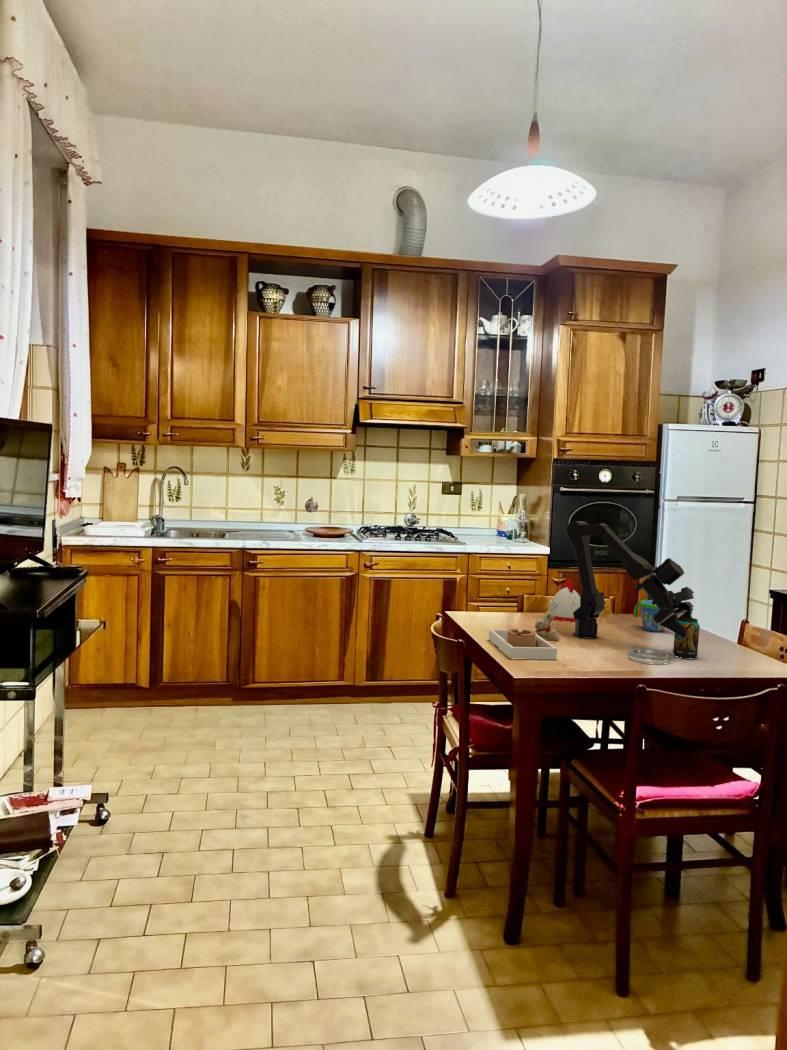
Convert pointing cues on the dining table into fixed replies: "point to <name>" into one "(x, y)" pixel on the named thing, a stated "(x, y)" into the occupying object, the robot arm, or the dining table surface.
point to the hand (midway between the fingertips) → (691, 634)
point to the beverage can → (687, 638)
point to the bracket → (521, 638)
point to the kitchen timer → (565, 603)
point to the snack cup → (648, 616)
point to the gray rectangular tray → (540, 651)
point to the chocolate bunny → (546, 628)
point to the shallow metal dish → (649, 656)
